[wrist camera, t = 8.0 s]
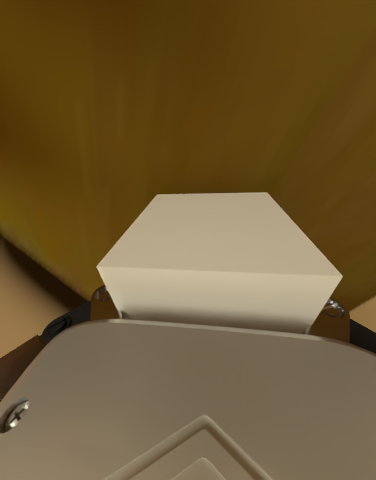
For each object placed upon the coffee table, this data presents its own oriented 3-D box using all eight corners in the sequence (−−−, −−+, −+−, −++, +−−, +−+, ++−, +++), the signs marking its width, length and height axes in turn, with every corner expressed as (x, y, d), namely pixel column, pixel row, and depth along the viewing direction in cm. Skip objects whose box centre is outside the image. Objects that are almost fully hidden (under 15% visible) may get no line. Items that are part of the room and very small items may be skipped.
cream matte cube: (266, 192, 11) (342, 276, 5) (250, 274, 15) (278, 377, 9) (157, 194, 12) (96, 266, 6) (169, 270, 16) (142, 362, 10)
